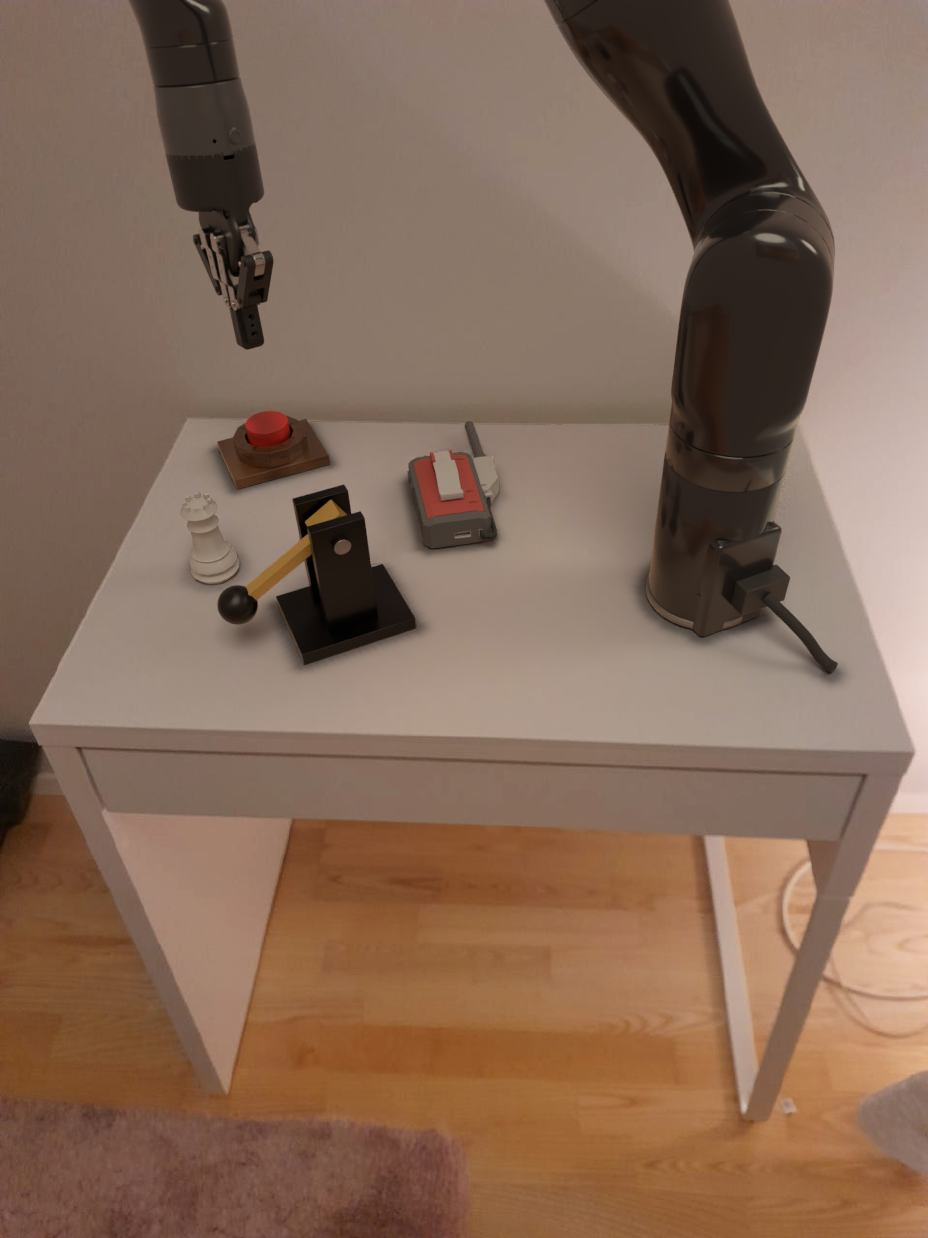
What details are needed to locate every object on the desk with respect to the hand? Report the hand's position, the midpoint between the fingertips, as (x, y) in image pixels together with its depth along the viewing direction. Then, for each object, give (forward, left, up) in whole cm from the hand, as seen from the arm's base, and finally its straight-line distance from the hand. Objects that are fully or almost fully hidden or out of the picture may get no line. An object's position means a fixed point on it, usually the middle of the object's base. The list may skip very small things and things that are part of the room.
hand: (251, 345), depth 89 cm
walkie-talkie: (-12, -15, -14) cm, 24 cm away
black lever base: (-24, +1, -14) cm, 28 cm away
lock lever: (-24, +4, -8) cm, 26 cm away
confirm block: (+3, 0, -14) cm, 14 cm away
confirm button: (+3, 0, -12) cm, 12 cm away
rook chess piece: (-13, +10, -14) cm, 22 cm away
